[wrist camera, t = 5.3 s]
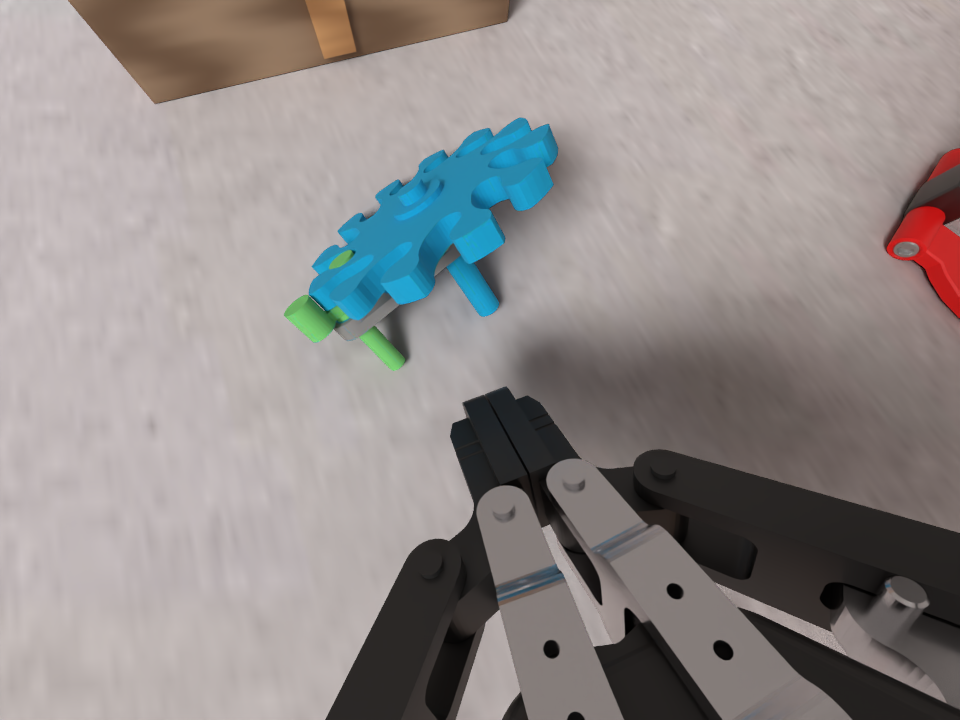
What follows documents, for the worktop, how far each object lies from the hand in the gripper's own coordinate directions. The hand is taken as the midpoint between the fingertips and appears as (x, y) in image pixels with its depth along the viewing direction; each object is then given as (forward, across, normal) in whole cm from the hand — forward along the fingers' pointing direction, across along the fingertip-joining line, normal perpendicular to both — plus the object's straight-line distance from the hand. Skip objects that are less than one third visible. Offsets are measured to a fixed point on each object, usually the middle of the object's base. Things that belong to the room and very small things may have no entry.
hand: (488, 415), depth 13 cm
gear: (+8, 0, -2) cm, 8 cm away
